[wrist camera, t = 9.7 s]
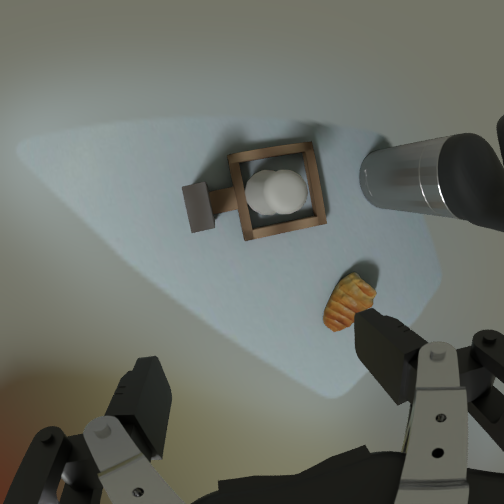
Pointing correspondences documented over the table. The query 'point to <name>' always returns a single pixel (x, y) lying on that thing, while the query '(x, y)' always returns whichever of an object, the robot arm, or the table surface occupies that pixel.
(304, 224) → the frame
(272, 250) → the table surface
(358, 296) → the pastry
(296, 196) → the salt shaker
